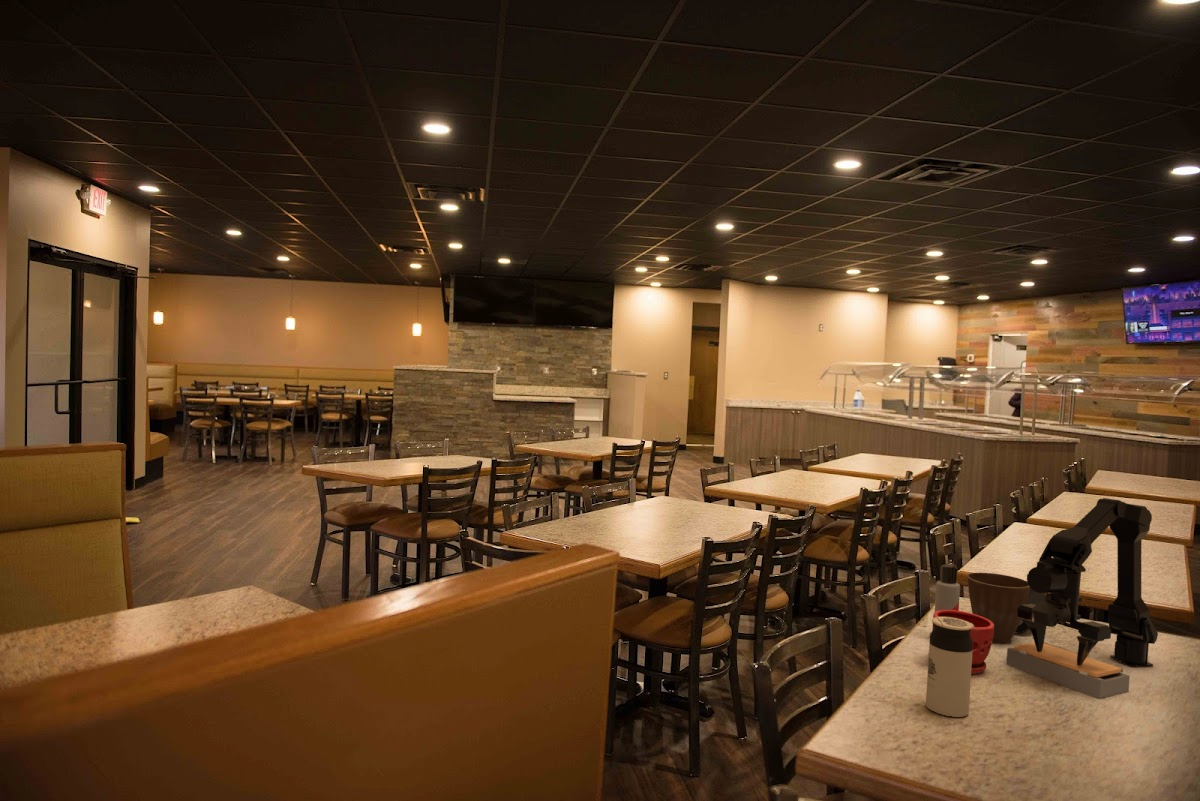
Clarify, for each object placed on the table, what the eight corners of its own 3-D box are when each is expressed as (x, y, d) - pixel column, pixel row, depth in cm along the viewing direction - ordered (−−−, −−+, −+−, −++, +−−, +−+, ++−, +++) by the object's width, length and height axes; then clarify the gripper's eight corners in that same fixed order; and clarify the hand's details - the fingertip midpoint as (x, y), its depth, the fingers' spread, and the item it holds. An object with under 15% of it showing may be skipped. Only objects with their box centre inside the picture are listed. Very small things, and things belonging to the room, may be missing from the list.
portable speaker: (1010, 612, 235) (1012, 579, 235) (1047, 619, 229) (1050, 585, 228) (991, 630, 215) (993, 594, 214) (1031, 639, 209) (1034, 602, 208)
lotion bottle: (959, 645, 200) (963, 568, 199) (935, 642, 201) (940, 565, 201) (953, 638, 206) (958, 563, 205) (930, 636, 207) (935, 561, 206)
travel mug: (966, 706, 160) (971, 619, 160) (970, 721, 153) (976, 630, 152) (924, 699, 163) (929, 613, 163) (927, 714, 155) (932, 624, 155)
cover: (1040, 644, 191) (1041, 640, 191) (1123, 672, 174) (1123, 667, 174) (1014, 649, 186) (1014, 645, 186) (1096, 677, 169) (1096, 673, 169)
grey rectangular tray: (1034, 658, 192) (1036, 640, 192) (1128, 691, 173) (1129, 670, 173) (1006, 664, 187) (1007, 645, 187) (1099, 698, 168) (1101, 677, 168)
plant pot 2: (1038, 650, 199) (1042, 588, 199) (979, 647, 199) (983, 585, 199) (1008, 631, 214) (1012, 574, 213) (954, 629, 214) (957, 571, 214)
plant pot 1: (930, 671, 180) (933, 620, 179) (929, 654, 192) (932, 606, 192) (993, 682, 175) (997, 629, 174) (988, 664, 187) (991, 614, 187)
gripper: (1004, 582, 183) (999, 648, 183) (1086, 603, 167) (1079, 676, 167) (1033, 580, 188) (1028, 644, 188) (1115, 601, 172) (1109, 671, 172)
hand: (1058, 658), depth 179 cm, fingers open, 9 cm apart
